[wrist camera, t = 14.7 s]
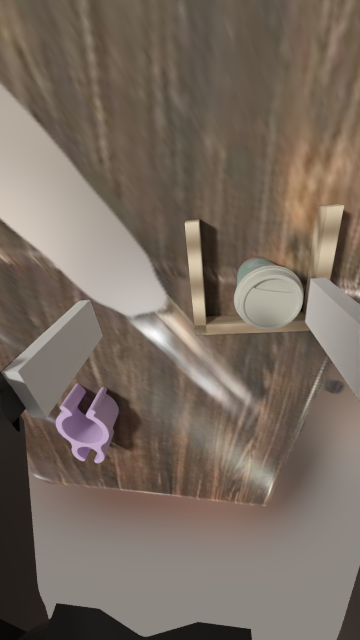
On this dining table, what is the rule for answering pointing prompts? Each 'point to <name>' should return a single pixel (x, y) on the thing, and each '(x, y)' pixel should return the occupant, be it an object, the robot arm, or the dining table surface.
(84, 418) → the clip
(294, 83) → the dining table surface
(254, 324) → the coffee cup
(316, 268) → the u rest
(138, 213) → the dining table surface
